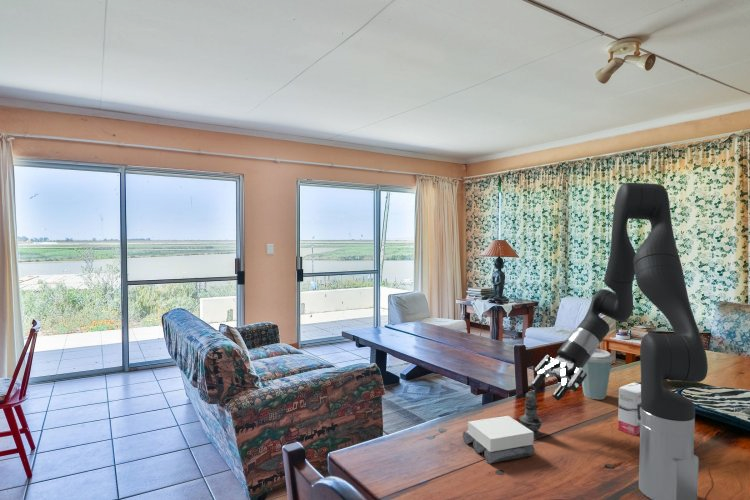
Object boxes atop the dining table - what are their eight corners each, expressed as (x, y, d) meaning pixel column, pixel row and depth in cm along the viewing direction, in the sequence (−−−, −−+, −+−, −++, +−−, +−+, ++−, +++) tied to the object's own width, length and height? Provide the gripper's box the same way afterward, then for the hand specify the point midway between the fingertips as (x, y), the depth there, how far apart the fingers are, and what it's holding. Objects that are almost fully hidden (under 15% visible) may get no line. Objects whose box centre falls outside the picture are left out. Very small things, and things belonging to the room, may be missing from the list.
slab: (533, 444, 105) (533, 432, 105) (490, 452, 101) (490, 439, 101) (508, 426, 114) (508, 415, 114) (467, 433, 110) (468, 421, 110)
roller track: (534, 457, 104) (534, 445, 104) (491, 465, 101) (491, 453, 100) (502, 434, 117) (502, 423, 117) (462, 440, 113) (462, 429, 113)
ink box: (635, 436, 116) (637, 392, 116) (616, 429, 120) (618, 387, 120) (651, 428, 121) (652, 386, 120) (632, 422, 125) (633, 381, 125)
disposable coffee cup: (603, 404, 138) (604, 357, 137) (570, 395, 146) (571, 350, 145) (617, 397, 144) (618, 352, 144) (584, 388, 153) (585, 345, 152)
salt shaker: (523, 425, 122) (524, 383, 122) (545, 432, 118) (546, 388, 118) (515, 433, 117) (516, 389, 117) (537, 439, 114) (538, 394, 113)
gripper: (553, 333, 128) (519, 375, 125) (591, 345, 114) (554, 393, 111) (567, 350, 130) (534, 392, 127) (606, 363, 116) (570, 411, 113)
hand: (544, 392), depth 119 cm, fingers open, 8 cm apart
